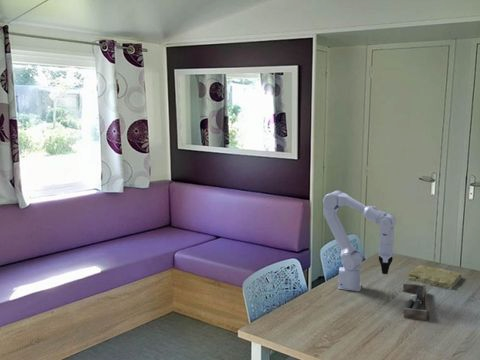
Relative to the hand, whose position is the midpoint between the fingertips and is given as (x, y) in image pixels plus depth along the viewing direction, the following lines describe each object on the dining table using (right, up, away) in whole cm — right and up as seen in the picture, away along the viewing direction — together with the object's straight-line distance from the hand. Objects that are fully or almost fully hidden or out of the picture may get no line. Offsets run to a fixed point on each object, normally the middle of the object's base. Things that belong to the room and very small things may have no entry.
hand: (384, 273), depth 210 cm
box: (+10, -11, -9) cm, 17 cm away
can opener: (+8, -12, -12) cm, 19 cm away
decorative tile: (+29, -7, +20) cm, 36 cm away
